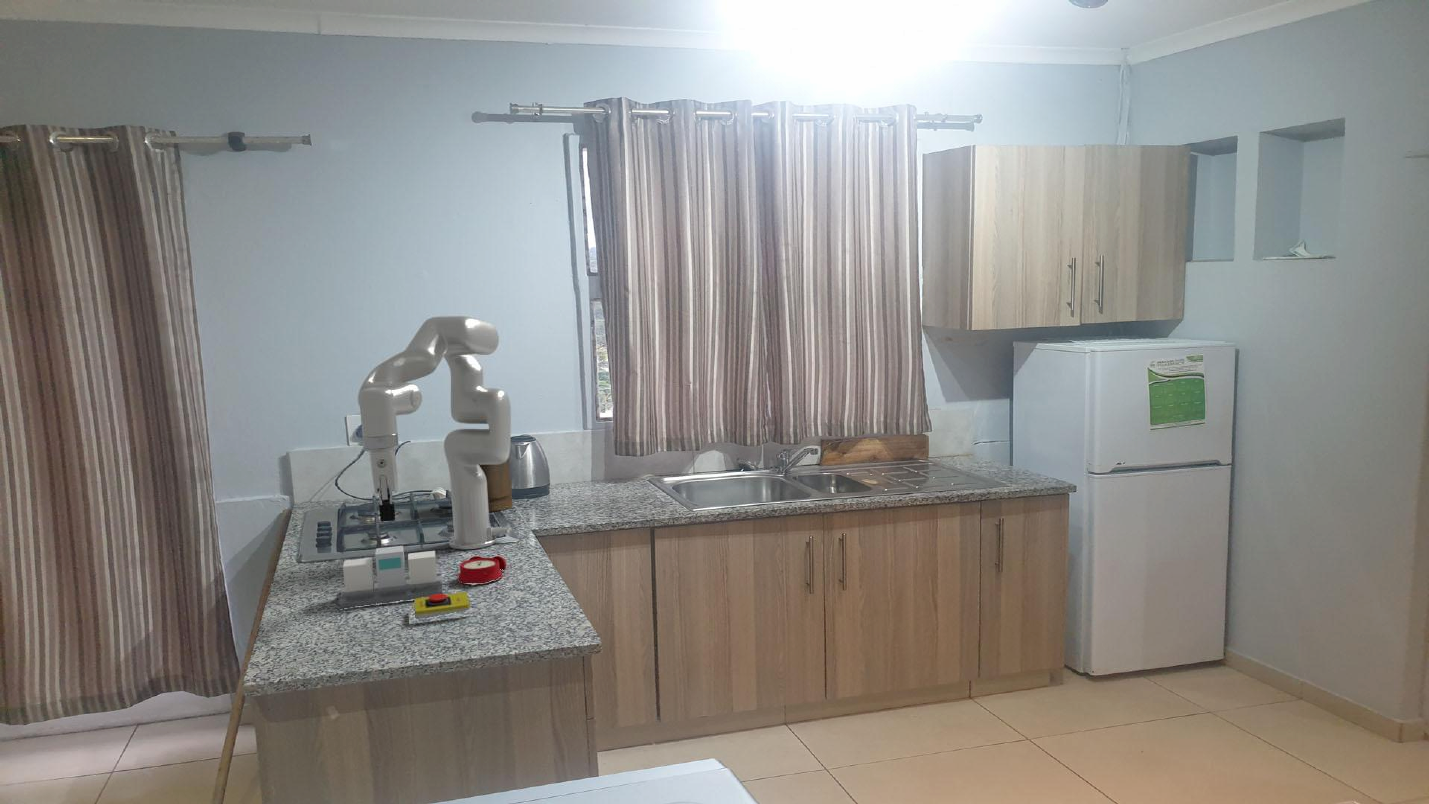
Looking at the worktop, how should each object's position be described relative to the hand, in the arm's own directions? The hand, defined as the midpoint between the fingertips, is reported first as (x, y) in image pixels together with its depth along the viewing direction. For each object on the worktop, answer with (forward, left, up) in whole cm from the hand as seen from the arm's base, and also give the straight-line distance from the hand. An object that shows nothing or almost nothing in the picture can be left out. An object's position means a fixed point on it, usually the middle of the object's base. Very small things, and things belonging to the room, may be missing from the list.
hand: (388, 520), depth 222 cm
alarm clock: (-20, -5, -18) cm, 28 cm away
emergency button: (-11, +18, -18) cm, 28 cm away
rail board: (0, 0, -18) cm, 18 cm away
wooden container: (-27, -77, -18) cm, 83 cm away
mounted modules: (0, 0, -15) cm, 15 cm away
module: (0, 0, -15) cm, 15 cm away
